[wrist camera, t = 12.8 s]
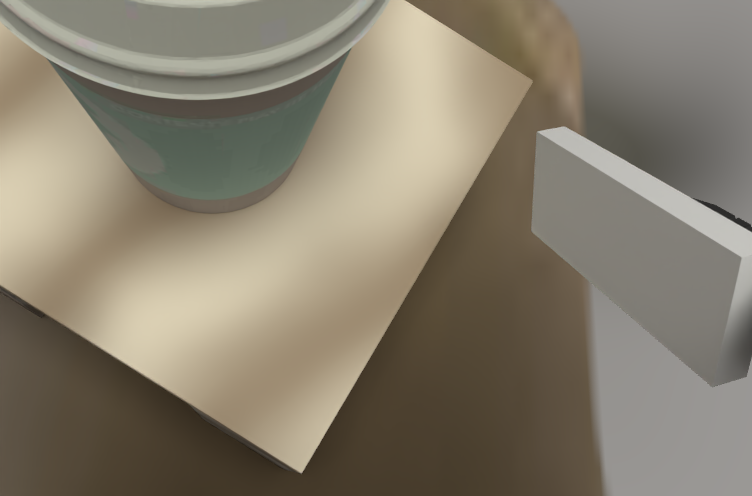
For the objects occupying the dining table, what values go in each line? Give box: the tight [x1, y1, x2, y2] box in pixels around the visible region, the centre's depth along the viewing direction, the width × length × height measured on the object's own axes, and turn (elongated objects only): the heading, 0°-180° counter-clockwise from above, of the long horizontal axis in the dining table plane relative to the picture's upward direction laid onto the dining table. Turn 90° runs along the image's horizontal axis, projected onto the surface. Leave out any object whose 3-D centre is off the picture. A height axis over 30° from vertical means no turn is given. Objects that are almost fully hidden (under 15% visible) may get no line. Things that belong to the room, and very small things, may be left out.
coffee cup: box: [0, 0, 390, 213], centre depth 17 cm, size 8×8×12 cm
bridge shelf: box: [0, 0, 533, 473], centre depth 28 cm, size 16×16×10 cm
